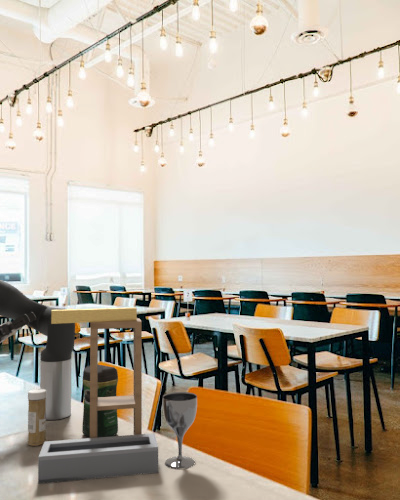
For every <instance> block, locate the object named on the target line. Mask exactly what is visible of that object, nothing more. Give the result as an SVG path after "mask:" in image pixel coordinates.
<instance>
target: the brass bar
mask: <svg viewBox="0 0 400 500" xmlns="http://www.w3.org/2000/svg"><path fill="white" fill-rule="evenodd" d="M66 309H67V310H52V315H51V324H58V323H75V324H78V323H79V324H80V323H81V324H83V323H91V322H110V321H135V320H137V318H138V317H137V314H138V312H137V310H138V309H137V307H111V308H109V307H106V308H104V307H103V308H75V309H74V308H73V309H69V308H66Z"/></svg>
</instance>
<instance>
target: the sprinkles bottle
mask: <svg viewBox="0 0 400 500" xmlns="http://www.w3.org/2000/svg"><path fill="white" fill-rule="evenodd" d="M46 396H47V392H46V390H45V389H40V388H33V389H31V390H29V391H28V392H27V399H28V400H27V401H28V411H27V435H28V436H27V445H28V446H32V447H35V446H41V445H43V444H44V442H46V441H47V439H46V437H47V436H46V434H47V433H46V429H47V426H46V424H47V420H46Z"/></svg>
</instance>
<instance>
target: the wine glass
mask: <svg viewBox="0 0 400 500" xmlns="http://www.w3.org/2000/svg"><path fill="white" fill-rule="evenodd" d="M197 409H198V395H197V394H196V393H193V392H188V391H174V392H168V393H166V394H163V395H162V411H163V416H164V420H165V422H166V424H167V425H168V426H169V428H170V429H171V430H172V431H173V432H174V434H175V436H176V438H177V447H178V455H176V456H177V457H176V456H172V458H171V457H169V458H167V459H166V460H165V461H164V465H165V466H166V467H167V466H168V467H167V468H169V467H171V468H170V469H173V468H176V469H175V470H178V469H177V468H186V469H189V467H190V468H192V467H194V466H195V465H194V463H195V461H196V460H195V459H194V458H193V457H191V456H187V455H183V441H184V436H185V434H186V433H187V431H188V430H189V428H190V427H191V426H192V425H193V423H194V421H195V419H196V415H197ZM186 456H187V457H186ZM190 457H191V458H190ZM192 458H193V459H194V460H195V461H194V460H193V459H192ZM195 464H196V463H195ZM193 465H194V466H193ZM191 466H192V467H191Z"/></svg>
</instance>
